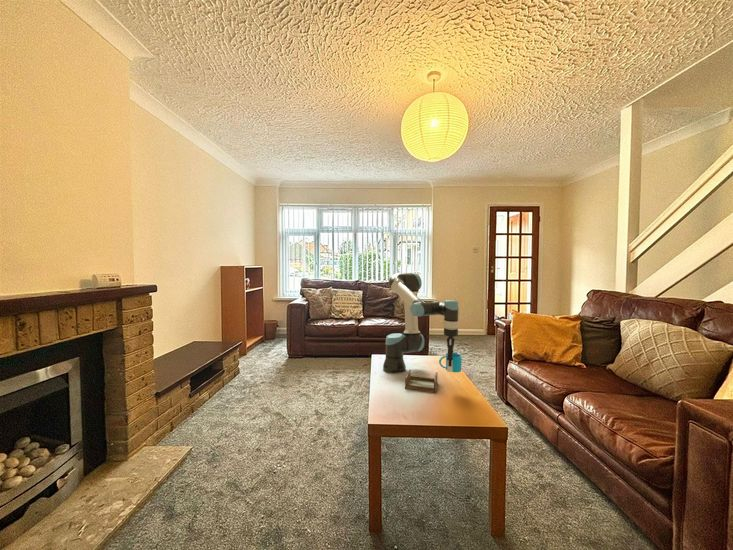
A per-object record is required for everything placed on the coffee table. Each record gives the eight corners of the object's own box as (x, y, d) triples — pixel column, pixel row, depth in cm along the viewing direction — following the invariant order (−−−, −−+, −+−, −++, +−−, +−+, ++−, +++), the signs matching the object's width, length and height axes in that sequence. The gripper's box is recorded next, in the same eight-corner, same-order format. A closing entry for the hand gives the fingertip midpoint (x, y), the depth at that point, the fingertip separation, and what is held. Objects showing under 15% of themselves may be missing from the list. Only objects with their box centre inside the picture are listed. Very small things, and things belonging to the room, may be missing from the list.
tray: (409, 379, 181) (409, 369, 180) (437, 382, 176) (437, 372, 175) (405, 388, 166) (405, 378, 166) (435, 392, 161) (435, 381, 161)
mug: (459, 367, 168) (460, 353, 167) (462, 372, 160) (462, 357, 159) (438, 366, 169) (438, 352, 169) (439, 371, 161) (440, 356, 161)
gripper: (444, 324, 175) (444, 362, 176) (442, 331, 155) (442, 374, 156) (458, 325, 173) (457, 363, 174) (457, 332, 153) (456, 376, 154)
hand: (450, 368), depth 165 cm, fingers closed on mug, 8 cm apart
